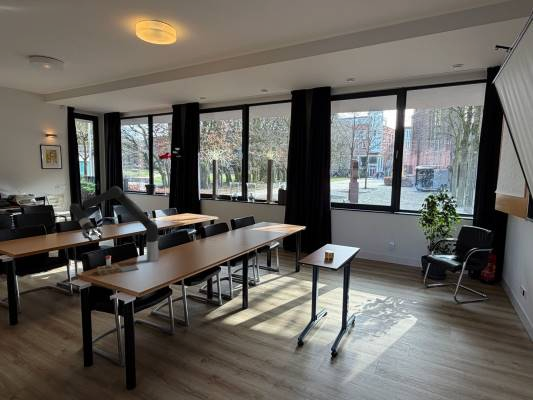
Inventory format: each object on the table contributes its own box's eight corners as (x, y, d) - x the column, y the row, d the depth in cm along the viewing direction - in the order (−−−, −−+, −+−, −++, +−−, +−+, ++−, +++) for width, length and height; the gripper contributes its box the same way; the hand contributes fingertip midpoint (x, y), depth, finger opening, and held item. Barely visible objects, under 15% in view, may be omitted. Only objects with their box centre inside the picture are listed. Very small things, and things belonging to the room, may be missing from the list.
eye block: (117, 268, 249) (116, 264, 248) (120, 272, 239) (120, 267, 239) (97, 271, 240) (97, 267, 240) (99, 275, 231) (99, 271, 231)
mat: (134, 266, 256) (134, 265, 256) (138, 269, 246) (138, 268, 246) (118, 268, 249) (118, 267, 248) (122, 272, 239) (122, 271, 239)
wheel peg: (111, 270, 243) (110, 255, 242) (112, 272, 239) (111, 256, 238) (105, 271, 240) (105, 256, 239) (106, 273, 237) (106, 257, 236)
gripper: (80, 222, 238) (91, 239, 235) (97, 220, 251) (107, 236, 248) (75, 229, 241) (86, 245, 237) (92, 226, 254) (102, 242, 250)
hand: (97, 240), depth 242 cm, fingers open, 8 cm apart
